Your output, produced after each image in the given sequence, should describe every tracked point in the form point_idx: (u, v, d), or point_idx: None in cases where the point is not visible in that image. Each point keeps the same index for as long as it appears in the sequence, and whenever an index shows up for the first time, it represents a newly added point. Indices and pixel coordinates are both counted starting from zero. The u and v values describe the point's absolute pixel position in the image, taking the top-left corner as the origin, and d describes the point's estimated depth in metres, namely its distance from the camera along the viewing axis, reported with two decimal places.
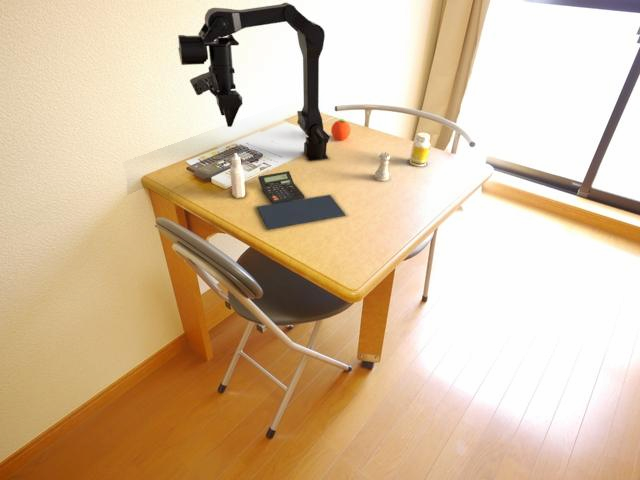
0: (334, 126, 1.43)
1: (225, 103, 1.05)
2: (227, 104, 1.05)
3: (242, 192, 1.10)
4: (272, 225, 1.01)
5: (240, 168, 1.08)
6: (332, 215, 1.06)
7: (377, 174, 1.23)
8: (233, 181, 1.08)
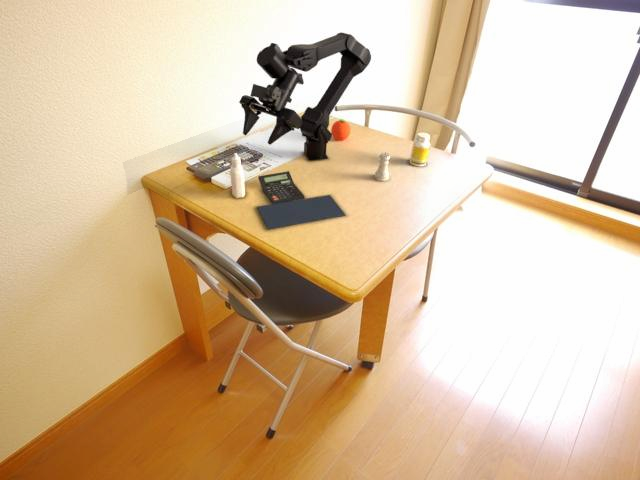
0: (334, 126, 1.43)
1: (293, 119, 1.05)
2: (294, 121, 1.06)
3: (242, 192, 1.10)
4: (272, 225, 1.01)
5: (240, 168, 1.08)
6: (332, 215, 1.06)
7: (377, 174, 1.23)
8: (233, 181, 1.08)
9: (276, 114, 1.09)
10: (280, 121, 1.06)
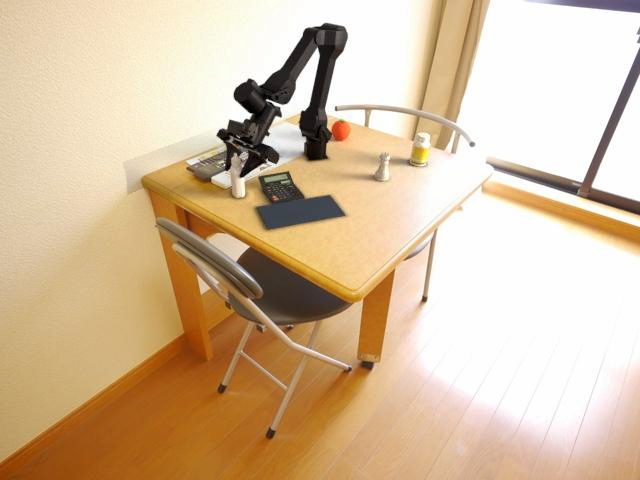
0: (334, 126, 1.43)
1: (270, 155, 1.03)
2: (271, 157, 1.04)
3: (242, 192, 1.10)
4: (272, 225, 1.01)
5: (240, 168, 1.07)
6: (332, 215, 1.06)
7: (377, 174, 1.23)
8: (233, 181, 1.08)
9: (253, 149, 1.07)
10: (252, 155, 1.04)
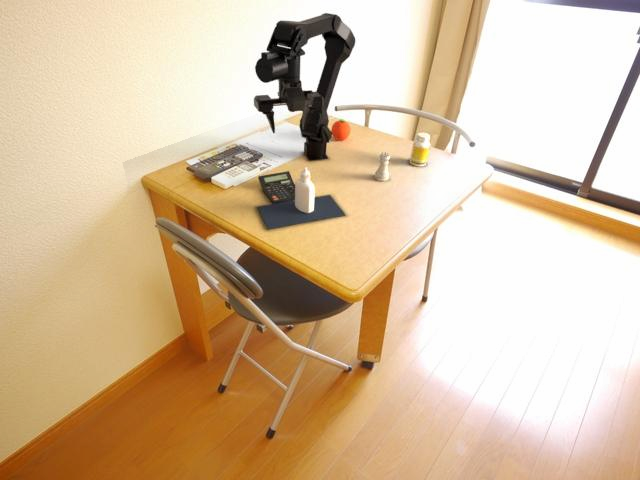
0: (334, 126, 1.43)
1: None
2: None
3: (313, 206, 1.06)
4: (272, 225, 1.01)
5: (310, 182, 1.03)
6: (332, 215, 1.06)
7: (377, 174, 1.23)
8: (306, 197, 1.03)
9: None
10: (313, 111, 1.14)
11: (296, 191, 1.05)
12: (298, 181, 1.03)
